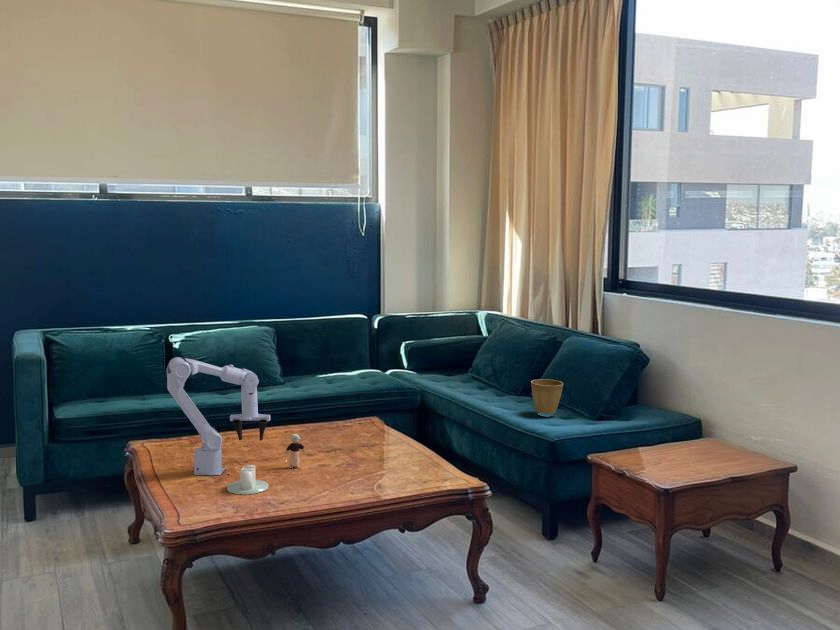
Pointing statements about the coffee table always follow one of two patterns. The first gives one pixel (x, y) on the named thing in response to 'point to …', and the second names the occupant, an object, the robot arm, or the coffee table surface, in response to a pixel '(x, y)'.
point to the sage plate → (257, 488)
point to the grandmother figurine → (294, 451)
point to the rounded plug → (247, 477)
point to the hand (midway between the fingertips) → (251, 439)
